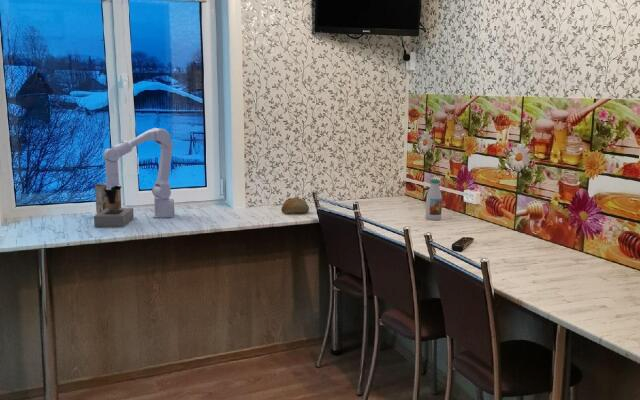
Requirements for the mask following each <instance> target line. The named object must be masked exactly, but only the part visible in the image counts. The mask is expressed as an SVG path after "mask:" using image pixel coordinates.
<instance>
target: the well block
mask: <svg viewBox="0 0 640 400" xmlns="http://www.w3.org/2000/svg"><path fill="white" fill-rule="evenodd" d="M134 215H135V214H134V207H121V209H119V210H108V208H106V209H104V210H103V211H101V212H100V213H98V214H97V213H96V214H95V215H93V223H94V226H93V227H94V228H114V227H115V228H124V227H125V226H126V225H127V224H128V223H129V222H130V221H132V220H133V219H134V218H135V217H134Z"/></svg>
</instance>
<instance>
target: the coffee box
mask: <svg viewBox="0 0 640 400" xmlns="http://www.w3.org/2000/svg"><path fill="white" fill-rule="evenodd" d="M104 183H105V182H104ZM104 183H97V184H96V183H95V184H94V196H95V208H96V209H95V210H96V215H97V214H98V213H100V212H101V211H103V210H104V209H106V208H108V204H107V194H106V193H105V191H104V189H106V185H104Z"/></svg>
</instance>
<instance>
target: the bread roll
mask: <svg viewBox="0 0 640 400" xmlns="http://www.w3.org/2000/svg"><path fill="white" fill-rule="evenodd" d="M280 211H281V213H283V214H307V213H308V212H309V211H310V207H309V205H308V203H307V202H306V200H304V199H303V198H299V197H290V198H287V199H286V200H285V201H284V202H283V204H282V206H281V209H280Z"/></svg>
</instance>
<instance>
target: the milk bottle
mask: <svg viewBox="0 0 640 400" xmlns="http://www.w3.org/2000/svg"><path fill="white" fill-rule="evenodd" d="M429 182H430V184H429V185H430V186H429V189H428V191H427V194H426V199H425V200H426V202H425V219H426V220H429V221H440V220H441V219H442V210H443V209H442V205H443V196H442V195H443V194H442V192H441V189H440V182H441V181H440V179H436V178H432V179H430V181H429Z"/></svg>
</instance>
